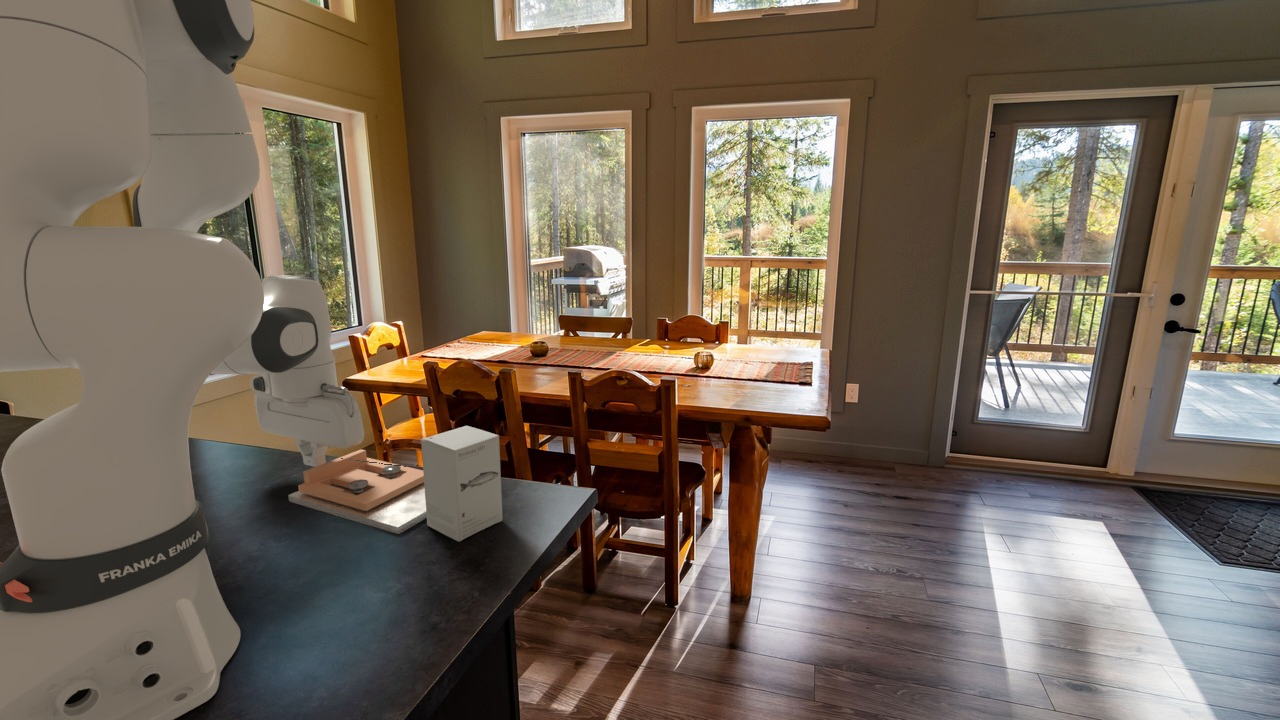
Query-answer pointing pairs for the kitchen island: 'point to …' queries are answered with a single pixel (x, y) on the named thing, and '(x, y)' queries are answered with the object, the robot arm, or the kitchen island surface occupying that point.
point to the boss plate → (384, 516)
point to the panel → (352, 470)
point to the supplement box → (462, 481)
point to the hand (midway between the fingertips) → (314, 464)
